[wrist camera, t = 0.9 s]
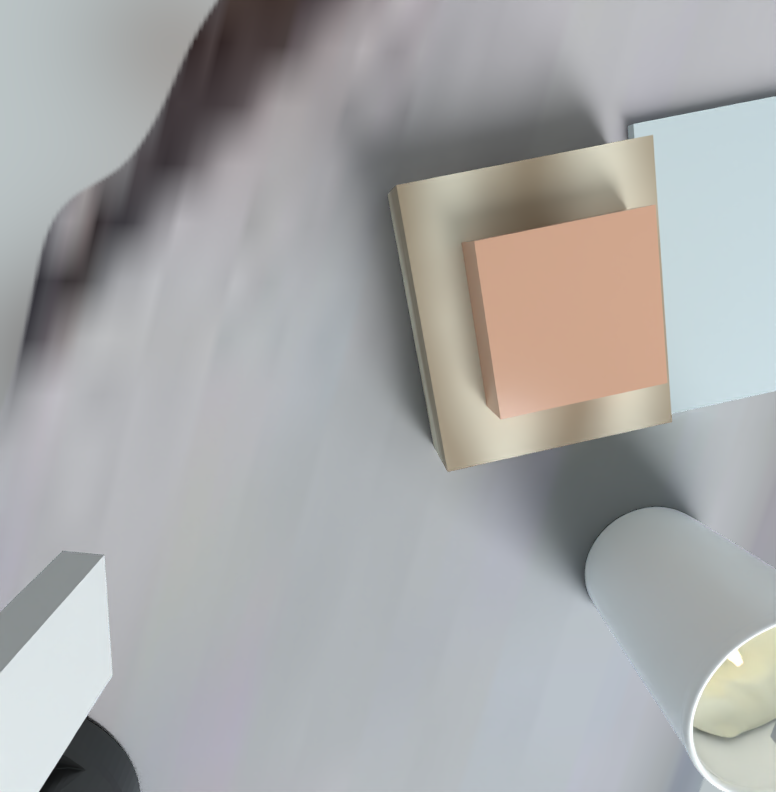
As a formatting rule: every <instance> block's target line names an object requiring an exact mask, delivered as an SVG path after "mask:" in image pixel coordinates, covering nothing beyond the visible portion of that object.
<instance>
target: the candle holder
mask: <svg viewBox="0 0 776 792" xmlns="http://www.w3.org/2000/svg"><path fill="white" fill-rule="evenodd" d="M585 583H586V588H587V591H588V594H589V596H590V599H591V601H592V602H593V604H594V606H595V608H596V609H597V611H598V613H599V614H600V616H601V617H602V619H603V621H604V622H605V624H606V625H607V627H608V629H609V630H610V632H611V633H612V635H613V636H614V638H615V640H616V641H617V643H618V644H619V646H620V647H621V649H622V651H623V652H624V654H625V655H626V657H627V658H628V660H629V661H630V663H631V665H632V666H633V668H634V669H635V671H636V672H637V674H638V675H639V677H640V679H641V680H642V682H643V683H644V685H645V686H646V688H647V689H648V691H649V693H650V694H651V696H652V697H653V699H654V700H655V702H656V703H657V705H658V707H659V708H660V710H661V711H662V713H663V714H664V716H665V718H666V719H667V721H668V722H669V724H670V725H671V727H672V728H673V730H674V732H675V733H676V735H677V736H678V738H679V739H680V741H681V743H682V744H683V746H684V747H685V749H686V751H687V753H688V755H689V757H690V759H691V761H692V763H693V764H694V766H695V767H696V769H697V770H698V771H699V773H700V774H701V775H702V776H703V777H704V778H705V779H706V780H707V781H708V782H710V783H711V784H712V785H713V786H715V787H716V788H718V789H720V790H722V791H723V792H776V744H775V742H774V741H773V739H772V738H771V737H770V736H771V733H772V730H773V728H774V725H775V723H776V568H775V567H773V566H772V565H770V564H768V563H767V562H765V561H763V560H762V559H760V558H759V557H757V556H755V555H754V554H752V553H750V552H749V551H747V550H746V549H744V548H742V547H741V546H739V545H737V544H736V543H734V542H733V541H731V540H729V539H728V538H726V537H724V536H723V535H721V534H719V533H718V532H716V531H715V530H713V529H711V528H710V527H708V526H706V525H705V524H703V523H701V522H700V521H698V520H696V519H694V518H693V517H691V516H689V515H687V514H685V513H683V512H681V511H678V510H675V509H671V508H666V507H648V508H642V509H638V510H635V511H632V512H630V513H627V514H625V515H623V516H621V517H620V518H618V519H617V520H615V521H614V522H612V523H611V524H610V525H609V526H608V527H606V528H605V529H604V530H603V532H602V533H601V534H600V535H599V536H598V538H597V539H596V541H595V542H594V544H593V546H592V547H591V550H590V552H589V554H588V557H587V561H586V566H585Z"/></svg>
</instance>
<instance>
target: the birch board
mask: <svg viewBox="0 0 776 792" xmlns="http://www.w3.org/2000/svg"><path fill="white" fill-rule="evenodd" d="M387 195H388V200H389V206H390V211H391V217H392V222H393V227H394V233H395V238H396V244H397V249H398V255H399V260H400V265H401V271H402V276H403V282H404V287H405V293H406V298H407V304H408V309H409V314H410V320H411V325H412V331H413V336H414V342H415V347H416V352H417V358H418V363H419V369H420V374H421V380H422V385H423V391H424V396H425V401H426V407H427V412H428V418H429V423H430V429H431V434H432V439H433V445H434V448H435V449H436V451H437V453H438V455H439V457H440V459H441V460H442V462H443V464H444V466H445V468H446V470H447V471H448V472H449V471H454V470H458V469H463V468H467V467H472V466H476V465H481V464H485V463H490V462H494V461H499V460H503V459H508V458H512V457H517V456H521V455H526V454H530V453H535V452H539V451H544V450H548V449H553V448H557V447H562V446H566V445H571V444H575V443H580V442H584V441H589V440H593V439H597V438H602V437H606V436H611V435H615V434H620V433H624V432H629V431H633V430H638V429H642V428H647V427H651V426H656V425H660V424H665V423H669V422H672V415H671V400H670V385H669V369H668V354H667V339H666V324H665V309H664V293H663V278H662V263H661V248H660V233H659V217H658V202H657V187H656V172H655V157H654V141H653V135H649V136H644V137H639V138H634V139H628V140H623V141H618V142H613V143H608V144H603V145H598V146H593V147H588V148H583V149H578V150H572V151H567V152H562V153H557V154H552V155H547V156H542V157H537V158H532V159H527V160H522V161H516V162H511V163H506V164H501V165H496V166H491V167H486V168H481V169H476V170H471V171H466V172H461V173H455V174H450V175H445V176H440V177H435V178H430V179H425V180H420V181H415V182H410V183H405V184H399V185H396V186H395V187H394V188H393V189H392V190H391V191H390V192H389V193H388V194H387ZM649 205H656V218H657V233H658V248H659V263H660V278H661V293H662V308H663V323H664V338H665V353H666V368H667V383H665V384H661V385H656V386H652V387H647V388H643V389H638V390H633V391H629V392H624V393H620V394H615V395H611V396H606V397H601V398H597V399H592V400H588V401H583V402H579V403H574V404H569V405H565V406H560V407H556V408H551V409H547V410H542V411H538V412H533V413H528V414H524V415H519V416H515V417H510V418H506V419H500V418H499V417H498V416H496V415H495V414H494V413H493V412H492V411H491V410H490V409H489V408H488V407H487V405H486V399H485V392H484V386H483V380H482V373H481V367H480V360H479V354H478V347H477V341H476V334H475V328H474V321H473V315H472V309H471V302H470V296H469V289H468V283H467V276H466V270H465V263H464V257H463V250H462V244H461V243H462V242H467V241H471V240H476V239H481V238H486V237H491V236H496V235H501V234H506V233H511V232H516V231H521V230H526V229H531V228H536V227H541V226H545V225H550V224H555V223H560V222H565V221H570V220H575V219H580V218H585V217H590V216H595V215H600V214H605V213H610V212H615V211H619V210H624V209H630V208H636V207H643V206H649Z"/></svg>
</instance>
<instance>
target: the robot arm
mask: <svg viewBox="0 0 776 792" xmlns="http://www.w3.org/2000/svg"><path fill="white" fill-rule="evenodd" d="M112 676H113V674H112V659H111V645H110V630H109V615H108V600H107V585H106V570H105V556H104V555H100V554H89V553H79V552H68V551H62V552H61V553H60V554H59V555H58V556H57V557H56V558H55V559H54V560H53V561H52V562H51V563H50V564H49V565H48V566H47V567H46V568H45V569H44V570H43V571H42V572H41V573H40V574H39V575H38V576H37V577H36V578H35V579H34V580H33V581H32V582H30V583H29V584H28V585H27V586H26V587H25V588H24V589H23V590H22V591H21V592H20V593H19V594H18V595H17V596H16V597H15V598H14V599H13V600H12V601H11V602H10V603H9V604H8V605H7V606H6V607H5V608H4V609H3V610H2V611H1V612H0V792H140V788H139V783H138V779H137V776H136V773H135V770H134V768H133V766H132V764H131V762H130V760H129V758H128V757H127V755H126V754H125V752H124V751H123V750H122V748H121V747H120V746H119V745H118V744H117V743H116V741H115V740H114V739H113V738H112V737H110V736H109V735H108V734H107V733H106V732H105V731H103V730H102V729H101V728H100V727H98V726H97V725H95V724H94V723H92V722H90V721H89V720H87V719H85V718H86V717H87V715H88V713H89V712H90V710H91V709H92V707H93V706H94V704H95V702H96V701H97V699H98V698H99V696H100V694H101V693H102V691H103V690H104V688H105V687H106V685H107V683H108V682H109V680H110V679H111V677H112ZM770 737H771V738H772V739H773V741H774V742H775V744H776V723H775V725H774V728H773V730H772V733H771V736H770Z"/></svg>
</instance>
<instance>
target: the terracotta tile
mask: <svg viewBox="0 0 776 792" xmlns="http://www.w3.org/2000/svg"><path fill="white" fill-rule="evenodd" d="M461 244H462V250H463V257H464V263H465V270H466V276H467V283H468V289H469V296H470V302H471V309H472V315H473V321H474V328H475V334H476V341H477V347H478V354H479V360H480V367H481V373H482V380H483V386H484V392H485V399H486V405H487V407H488V408H489V409H490V410H491V411H492V412H493V413H494V414H495V415H496V416H498V417H499V418H500V419H506V418H510V417H515V416H519V415H524V414H528V413H533V412H538V411H542V410H547V409H551V408H556V407H560V406H565V405H569V404H574V403H579V402H583V401H588V400H592V399H597V398H601V397H606V396H611V395H615V394H620V393H624V392H629V391H633V390H638V389H643V388H647V387H652V386H656V385H661V384H665V383H667V368H666V353H665V338H664V323H663V308H662V293H661V278H660V263H659V248H658V233H657V218H656V205H649V206H643V207H636V208H630V209H624V210H619V211H615V212H610V213H605V214H600V215H595V216H590V217H585V218H580V219H575V220H570V221H565V222H560V223H555V224H550V225H545V226H541V227H536V228H531V229H526V230H521V231H516V232H511V233H506V234H501V235H496V236H491V237H486V238H481V239H476V240H471V241H467V242H462V243H461Z"/></svg>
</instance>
